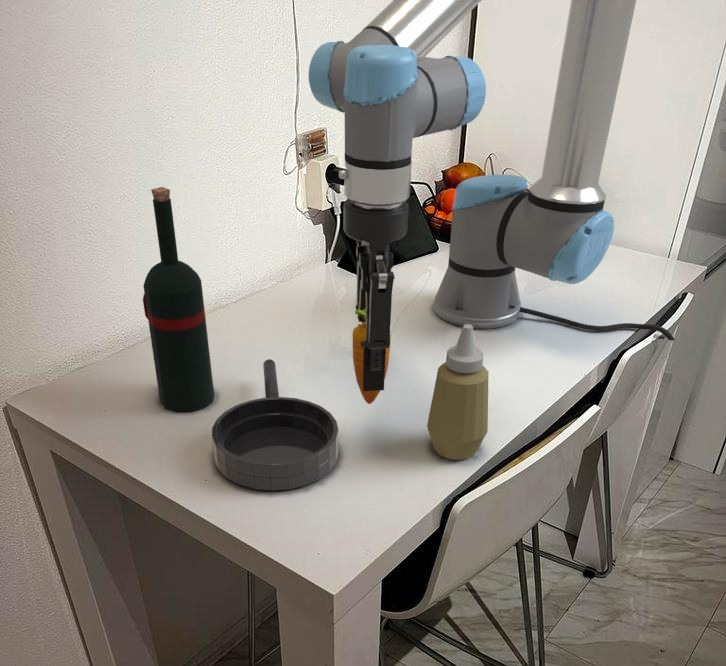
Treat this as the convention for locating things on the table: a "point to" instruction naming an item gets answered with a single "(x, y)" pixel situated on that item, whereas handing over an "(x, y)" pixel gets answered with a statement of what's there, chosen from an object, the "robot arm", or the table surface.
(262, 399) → the pan
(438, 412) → the squeeze bottle
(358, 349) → the carrot
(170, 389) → the wine bottle
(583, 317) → the table surface
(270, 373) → the pan handle
